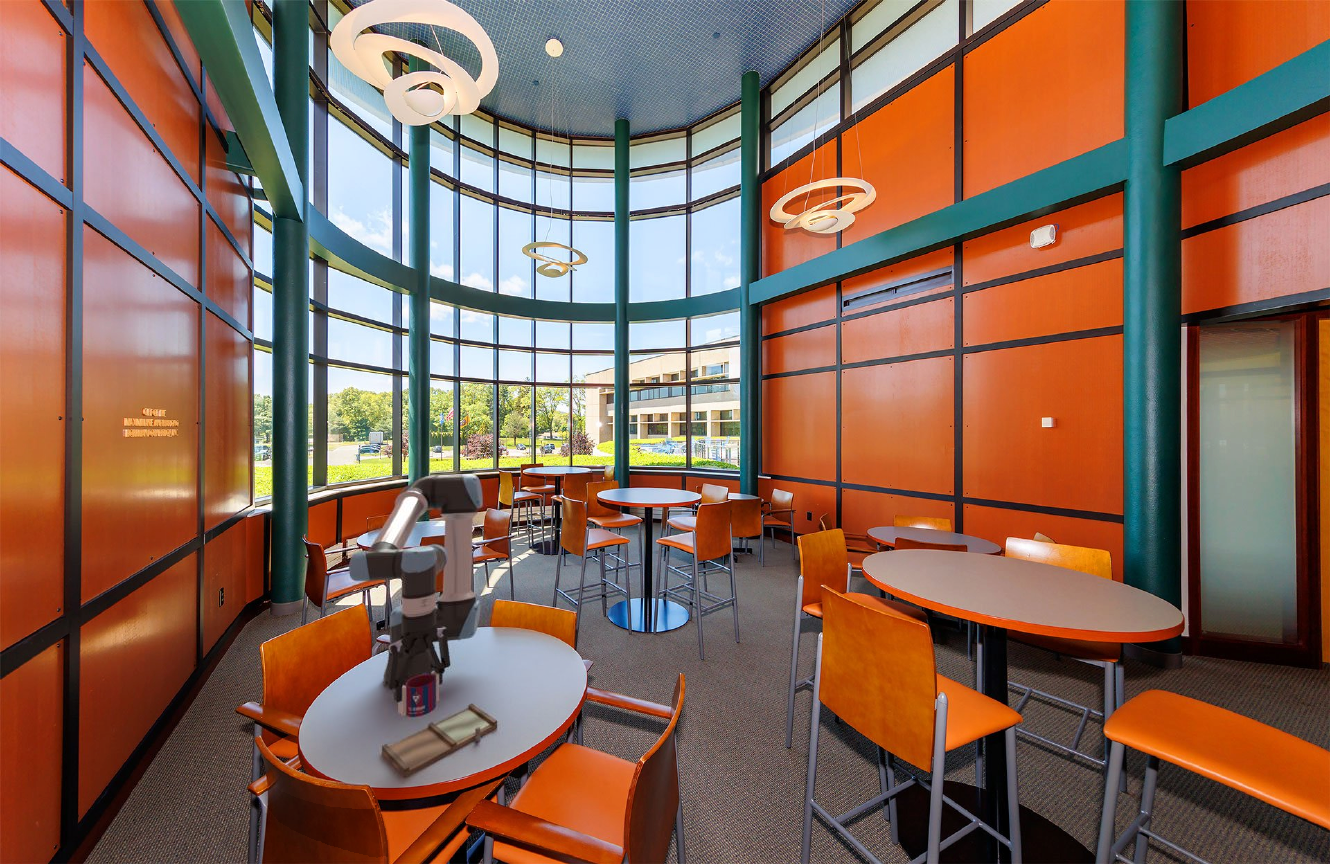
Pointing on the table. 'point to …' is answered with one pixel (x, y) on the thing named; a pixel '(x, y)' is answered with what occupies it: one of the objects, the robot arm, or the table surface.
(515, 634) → the table surface
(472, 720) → the brown divided flat frame
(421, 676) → the mug
